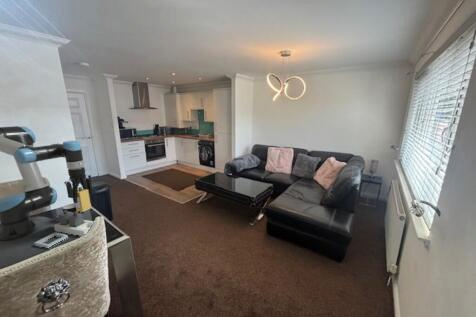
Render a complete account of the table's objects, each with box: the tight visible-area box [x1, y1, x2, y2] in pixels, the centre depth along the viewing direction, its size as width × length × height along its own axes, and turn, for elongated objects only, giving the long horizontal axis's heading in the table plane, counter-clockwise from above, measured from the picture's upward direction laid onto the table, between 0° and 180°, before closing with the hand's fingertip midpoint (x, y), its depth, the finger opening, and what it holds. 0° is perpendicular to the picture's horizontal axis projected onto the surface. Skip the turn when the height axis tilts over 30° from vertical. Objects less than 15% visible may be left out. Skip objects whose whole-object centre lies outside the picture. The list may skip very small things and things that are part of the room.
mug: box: [61, 202, 86, 214], centre depth 135 cm, size 12×9×10 cm
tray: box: [34, 231, 69, 249], centre depth 111 cm, size 10×10×2 cm
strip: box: [53, 210, 95, 237], centre depth 122 cm, size 24×10×12 cm, turn 75°
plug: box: [76, 186, 92, 213], centre depth 116 cm, size 5×5×14 cm
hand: (83, 205), depth 117 cm, fingers closed on plug, 5 cm apart
